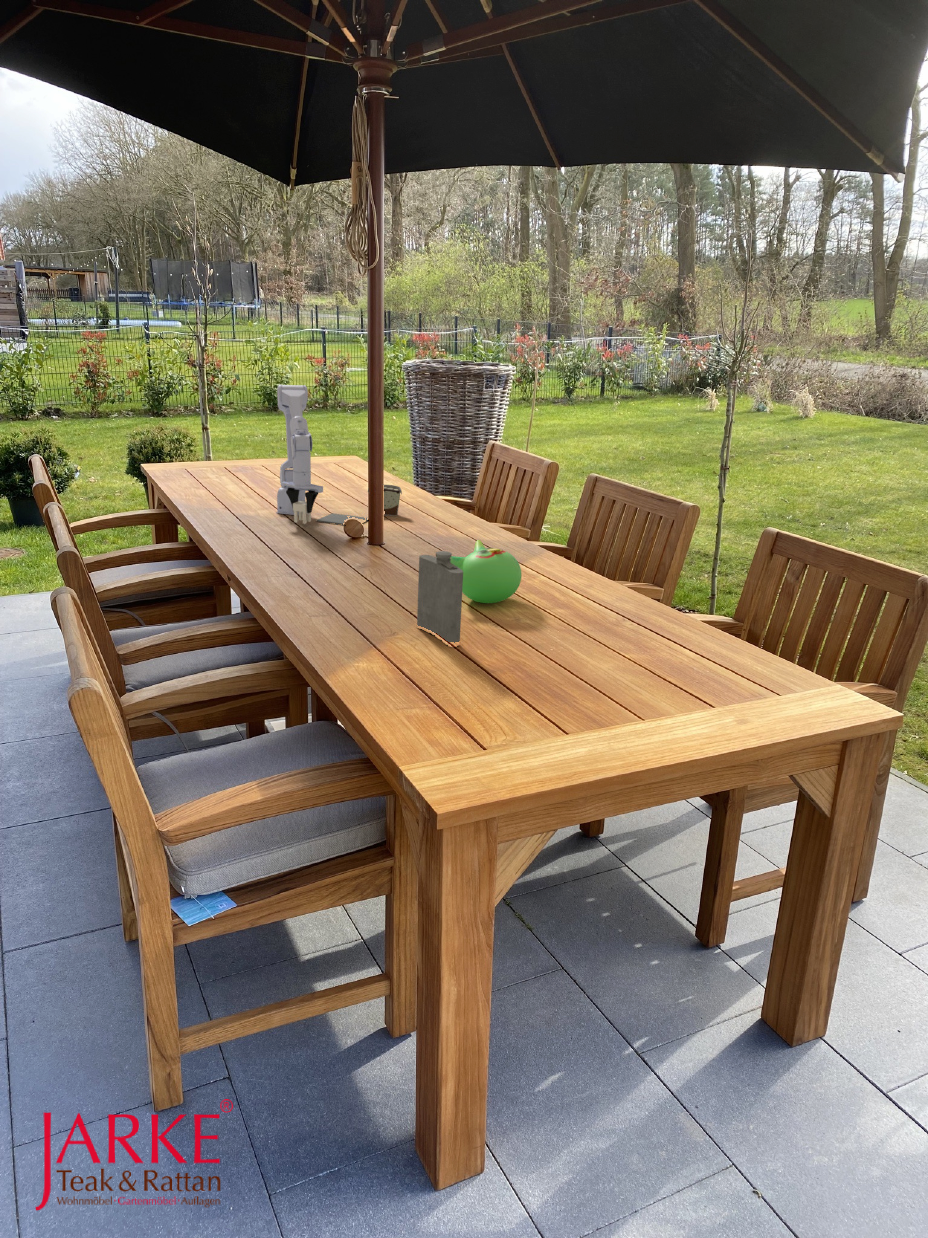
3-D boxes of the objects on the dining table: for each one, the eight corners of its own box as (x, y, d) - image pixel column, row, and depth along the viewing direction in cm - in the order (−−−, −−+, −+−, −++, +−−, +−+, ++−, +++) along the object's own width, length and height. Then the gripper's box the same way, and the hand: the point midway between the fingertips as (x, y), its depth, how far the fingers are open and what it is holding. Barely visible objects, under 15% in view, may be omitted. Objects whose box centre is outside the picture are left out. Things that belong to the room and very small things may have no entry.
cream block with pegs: (293, 522, 299) (292, 503, 297) (299, 519, 303) (299, 500, 301) (305, 523, 298) (305, 504, 295) (312, 521, 302) (311, 502, 300)
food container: (404, 512, 326) (404, 485, 323) (401, 516, 320) (402, 488, 317) (370, 510, 327) (371, 483, 324) (367, 513, 321) (367, 486, 318)
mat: (316, 521, 307) (316, 519, 306) (332, 514, 317) (332, 513, 317) (356, 526, 302) (356, 525, 302) (370, 519, 313) (370, 518, 313)
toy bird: (496, 616, 222) (500, 559, 217) (440, 602, 231) (442, 547, 226) (530, 598, 237) (534, 545, 232) (476, 586, 245) (479, 534, 240)
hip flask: (414, 626, 212) (417, 545, 206) (429, 624, 215) (432, 543, 208) (450, 648, 200) (454, 562, 193) (465, 645, 202) (469, 560, 196)
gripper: (276, 470, 293) (277, 511, 298) (316, 475, 289) (316, 516, 293) (287, 467, 299) (287, 507, 304) (326, 471, 295) (326, 512, 300)
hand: (302, 511), depth 299 cm, fingers closed on cream block with pegs, 5 cm apart
